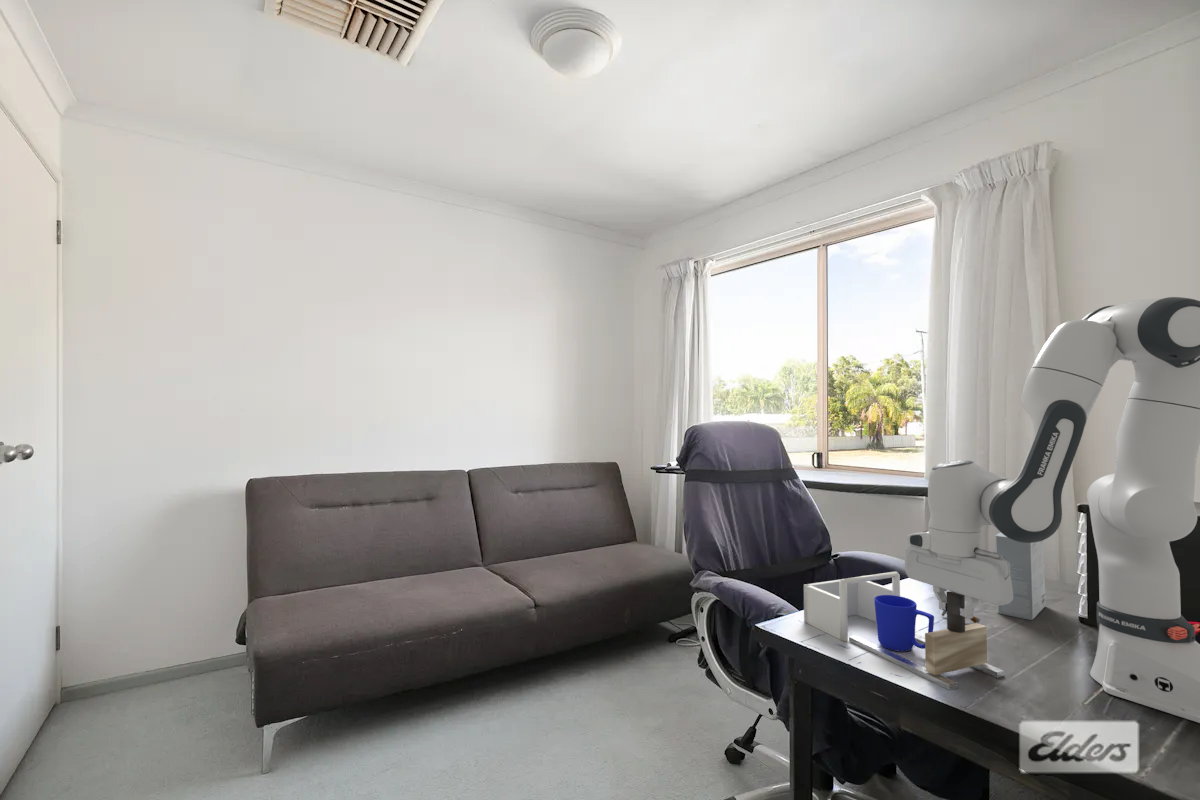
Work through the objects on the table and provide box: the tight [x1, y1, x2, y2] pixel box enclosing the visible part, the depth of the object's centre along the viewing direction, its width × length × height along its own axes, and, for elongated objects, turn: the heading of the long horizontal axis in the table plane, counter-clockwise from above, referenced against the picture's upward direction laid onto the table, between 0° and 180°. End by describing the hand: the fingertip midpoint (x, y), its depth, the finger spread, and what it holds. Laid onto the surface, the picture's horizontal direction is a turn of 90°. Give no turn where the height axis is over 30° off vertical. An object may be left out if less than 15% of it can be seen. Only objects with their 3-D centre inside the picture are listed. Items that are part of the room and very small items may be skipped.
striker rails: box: [848, 633, 1005, 691], centre depth 118 cm, size 24×15×1 cm, turn 21°
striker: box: [924, 591, 988, 675], centre depth 111 cm, size 3×14×14 cm, turn 111°
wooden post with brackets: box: [941, 610, 982, 624], centre depth 139 cm, size 2×8×4 cm, turn 45°
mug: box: [874, 595, 935, 652], centre depth 122 cm, size 8×12×10 cm
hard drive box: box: [994, 531, 1047, 621], centre depth 147 cm, size 16×8×20 cm, turn 132°
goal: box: [803, 571, 901, 642], centre depth 136 cm, size 13×18×14 cm
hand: (955, 613), depth 111 cm, fingers closed on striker, 3 cm apart
